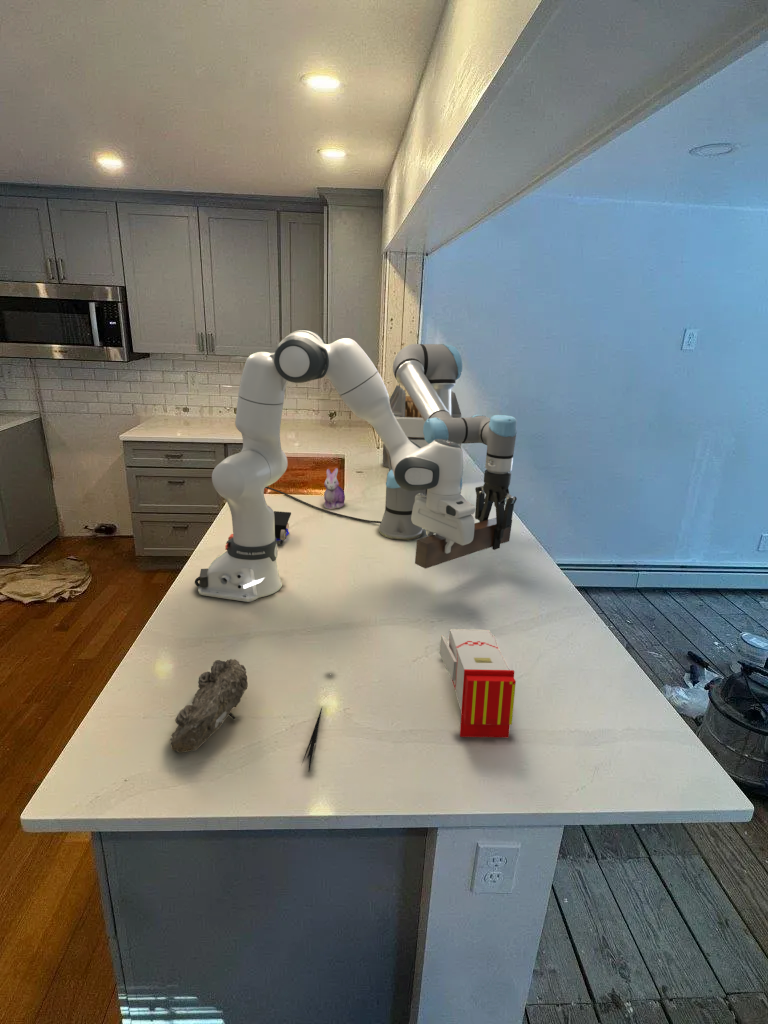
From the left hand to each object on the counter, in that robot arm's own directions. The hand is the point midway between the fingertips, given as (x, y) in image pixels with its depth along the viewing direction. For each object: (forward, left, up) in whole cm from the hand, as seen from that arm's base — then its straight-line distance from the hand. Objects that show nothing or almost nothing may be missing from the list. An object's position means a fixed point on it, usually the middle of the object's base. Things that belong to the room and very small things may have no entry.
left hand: (439, 549), depth 154 cm
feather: (-26, -53, -14) cm, 61 cm away
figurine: (-36, +70, -14) cm, 80 cm away
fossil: (-45, -54, -14) cm, 72 cm away
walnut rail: (+8, +7, -4) cm, 12 cm away
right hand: (+16, +15, -5) cm, 23 cm away
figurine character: (-51, +34, -14) cm, 63 cm away
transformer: (-1, +123, -14) cm, 124 cm away
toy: (+5, -43, -14) cm, 45 cm away
